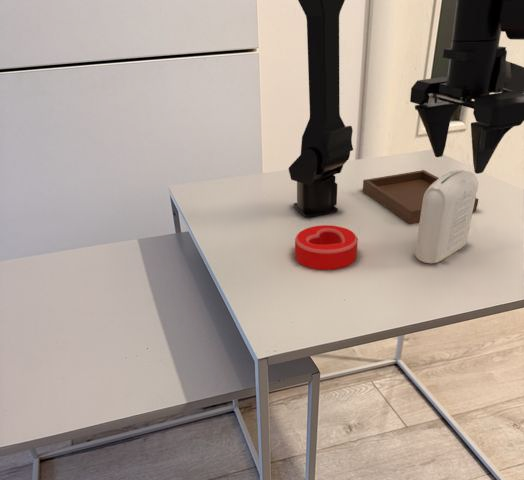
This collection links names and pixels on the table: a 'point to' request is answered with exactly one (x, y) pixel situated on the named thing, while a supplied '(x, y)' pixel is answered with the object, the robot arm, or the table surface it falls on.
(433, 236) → the photo printer
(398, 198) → the tray
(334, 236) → the decorative ornament
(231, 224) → the table surface
